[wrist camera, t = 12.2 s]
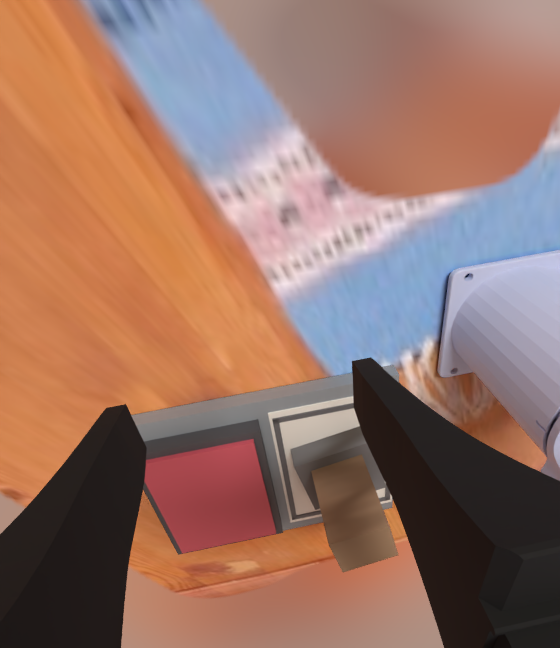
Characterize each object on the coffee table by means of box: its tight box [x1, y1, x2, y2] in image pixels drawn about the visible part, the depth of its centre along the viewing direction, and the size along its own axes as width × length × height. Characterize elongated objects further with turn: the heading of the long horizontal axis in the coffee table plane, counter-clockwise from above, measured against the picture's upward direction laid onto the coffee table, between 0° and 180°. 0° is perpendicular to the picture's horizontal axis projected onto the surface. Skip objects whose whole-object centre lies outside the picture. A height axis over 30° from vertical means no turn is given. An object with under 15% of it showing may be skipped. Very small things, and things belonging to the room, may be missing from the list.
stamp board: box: [131, 365, 399, 555], centre depth 29 cm, size 18×15×2 cm
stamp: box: [290, 426, 398, 572], centre depth 26 cm, size 6×6×6 cm
